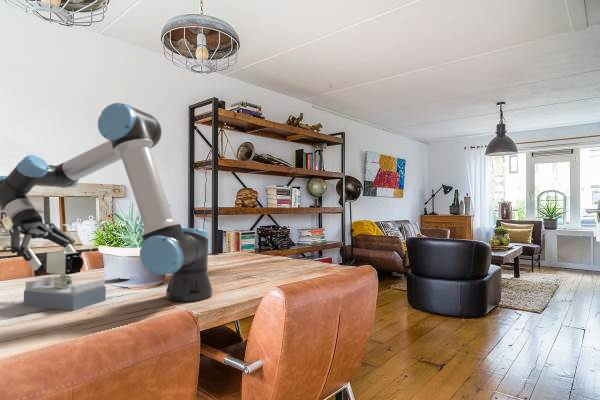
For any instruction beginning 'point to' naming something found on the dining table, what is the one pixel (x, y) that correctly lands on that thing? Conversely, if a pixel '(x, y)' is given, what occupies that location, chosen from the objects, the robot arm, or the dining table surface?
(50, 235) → the robot arm
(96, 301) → the grey piece
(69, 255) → the pneumatic valve
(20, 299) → the dining table surface
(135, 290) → the dining table surface
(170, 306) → the dining table surface
